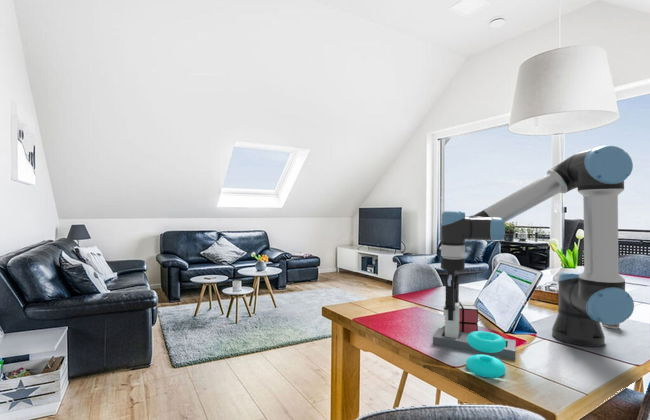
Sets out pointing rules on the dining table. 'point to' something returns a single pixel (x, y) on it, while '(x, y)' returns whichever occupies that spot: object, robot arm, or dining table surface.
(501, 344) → the donuts
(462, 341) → the socket panel
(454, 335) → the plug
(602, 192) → the robot arm
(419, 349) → the dining table surface
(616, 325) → the pill bottle
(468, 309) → the puzzle cube
